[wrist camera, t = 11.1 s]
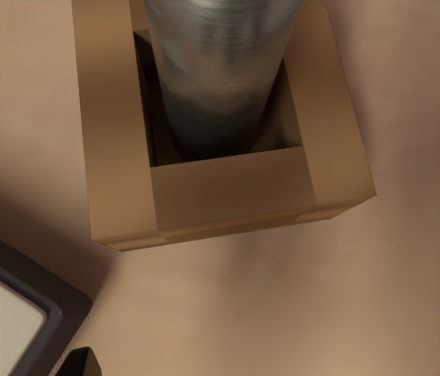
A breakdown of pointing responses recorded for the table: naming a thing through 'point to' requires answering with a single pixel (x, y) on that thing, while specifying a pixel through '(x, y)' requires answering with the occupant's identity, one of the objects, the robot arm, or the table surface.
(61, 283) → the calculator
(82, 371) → the robot arm
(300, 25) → the hole block
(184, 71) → the pin
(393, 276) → the table surface
